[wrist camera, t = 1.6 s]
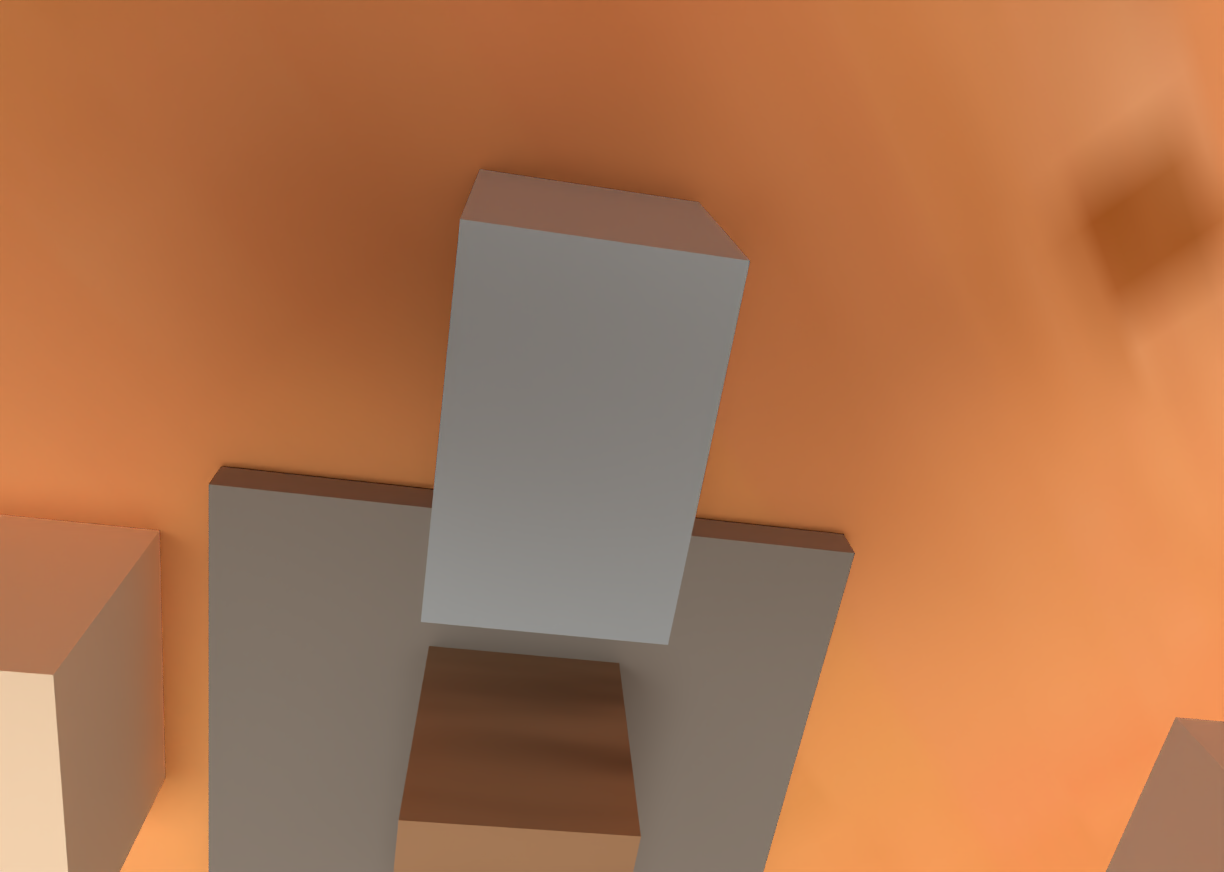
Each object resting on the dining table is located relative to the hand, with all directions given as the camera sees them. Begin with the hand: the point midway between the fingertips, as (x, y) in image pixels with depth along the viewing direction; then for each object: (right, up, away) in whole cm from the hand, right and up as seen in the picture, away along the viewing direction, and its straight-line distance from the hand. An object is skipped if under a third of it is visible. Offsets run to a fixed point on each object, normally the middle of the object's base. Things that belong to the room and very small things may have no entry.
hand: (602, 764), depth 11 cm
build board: (-3, -5, +17) cm, 18 cm away
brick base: (-3, -6, +16) cm, 17 cm away
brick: (-14, -2, +15) cm, 21 cm away
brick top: (-1, +6, +13) cm, 14 cm away
